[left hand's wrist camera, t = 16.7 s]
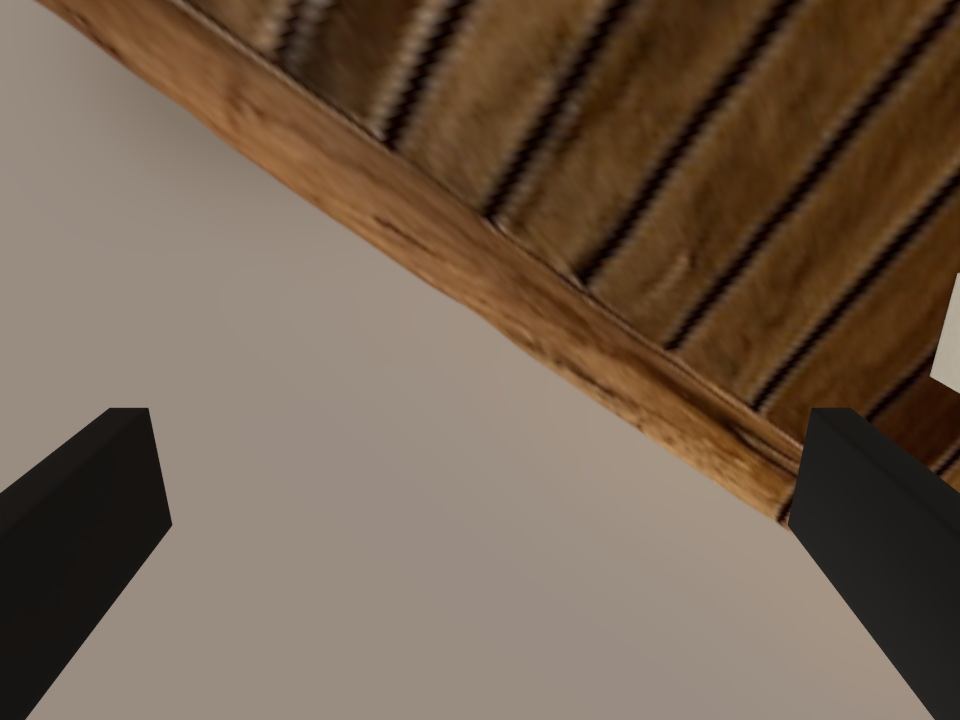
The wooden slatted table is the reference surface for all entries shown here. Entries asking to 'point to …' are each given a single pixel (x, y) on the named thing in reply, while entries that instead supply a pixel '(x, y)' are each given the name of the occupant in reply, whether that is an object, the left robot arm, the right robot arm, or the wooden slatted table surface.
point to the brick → (949, 345)
